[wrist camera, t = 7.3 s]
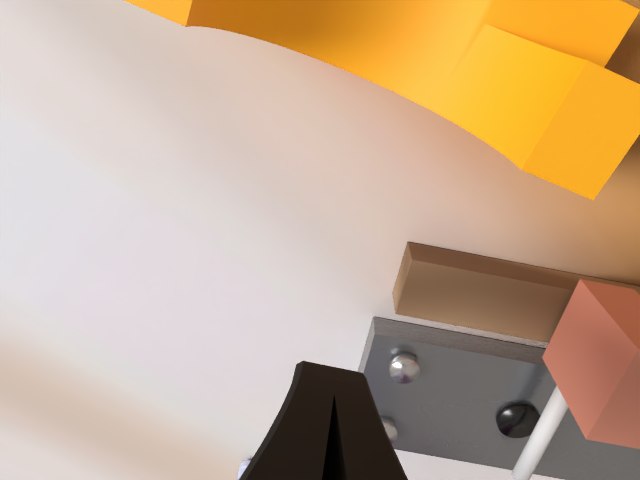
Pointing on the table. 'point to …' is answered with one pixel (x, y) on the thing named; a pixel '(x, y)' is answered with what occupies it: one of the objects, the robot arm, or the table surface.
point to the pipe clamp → (470, 67)
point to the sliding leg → (592, 371)
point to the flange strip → (477, 402)
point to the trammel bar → (484, 292)
